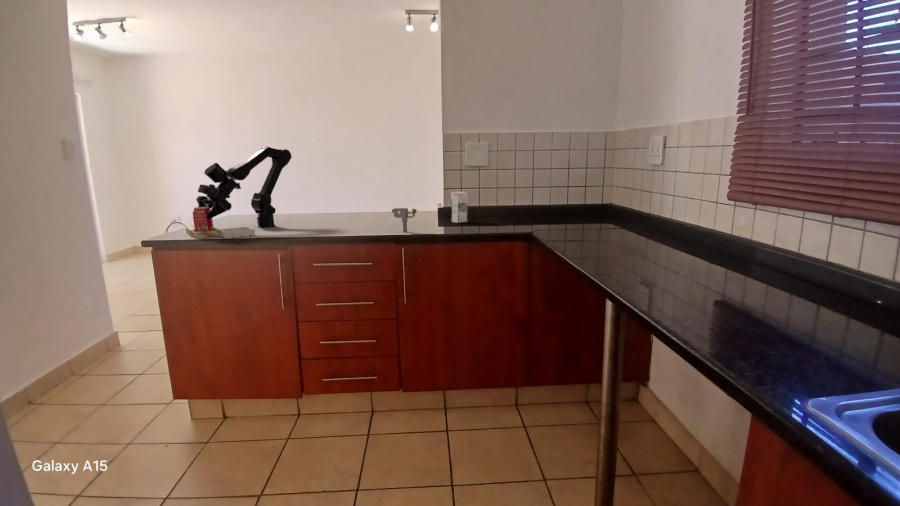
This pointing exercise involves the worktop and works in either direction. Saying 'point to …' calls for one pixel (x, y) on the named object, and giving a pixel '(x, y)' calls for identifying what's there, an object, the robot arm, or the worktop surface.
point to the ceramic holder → (237, 232)
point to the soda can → (202, 219)
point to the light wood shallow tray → (202, 234)
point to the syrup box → (459, 207)
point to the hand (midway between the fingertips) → (201, 218)
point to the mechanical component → (403, 215)
